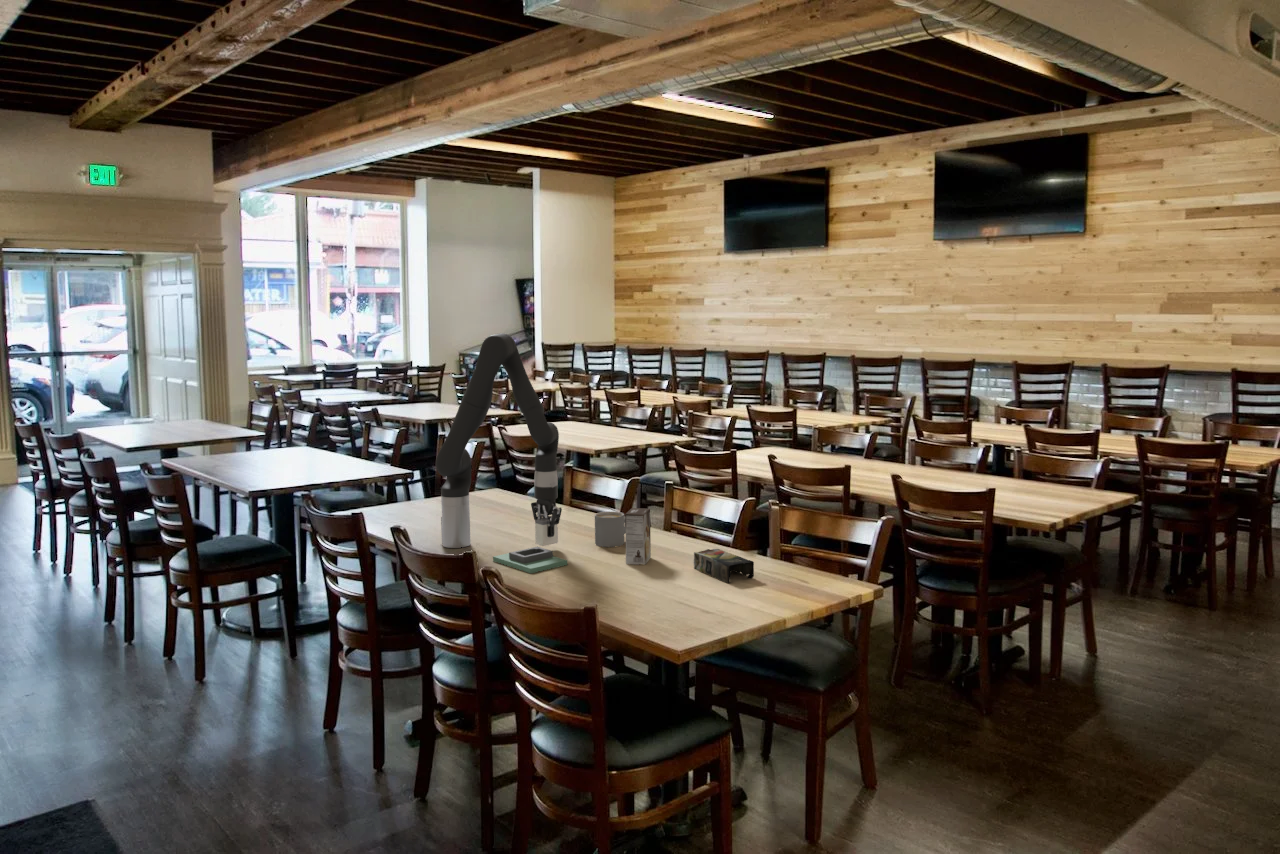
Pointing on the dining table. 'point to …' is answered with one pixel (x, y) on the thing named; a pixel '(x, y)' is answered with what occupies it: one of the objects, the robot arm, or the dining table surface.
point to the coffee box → (638, 536)
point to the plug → (544, 533)
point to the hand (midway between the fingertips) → (546, 535)
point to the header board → (531, 559)
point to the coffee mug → (609, 529)
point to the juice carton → (722, 564)
